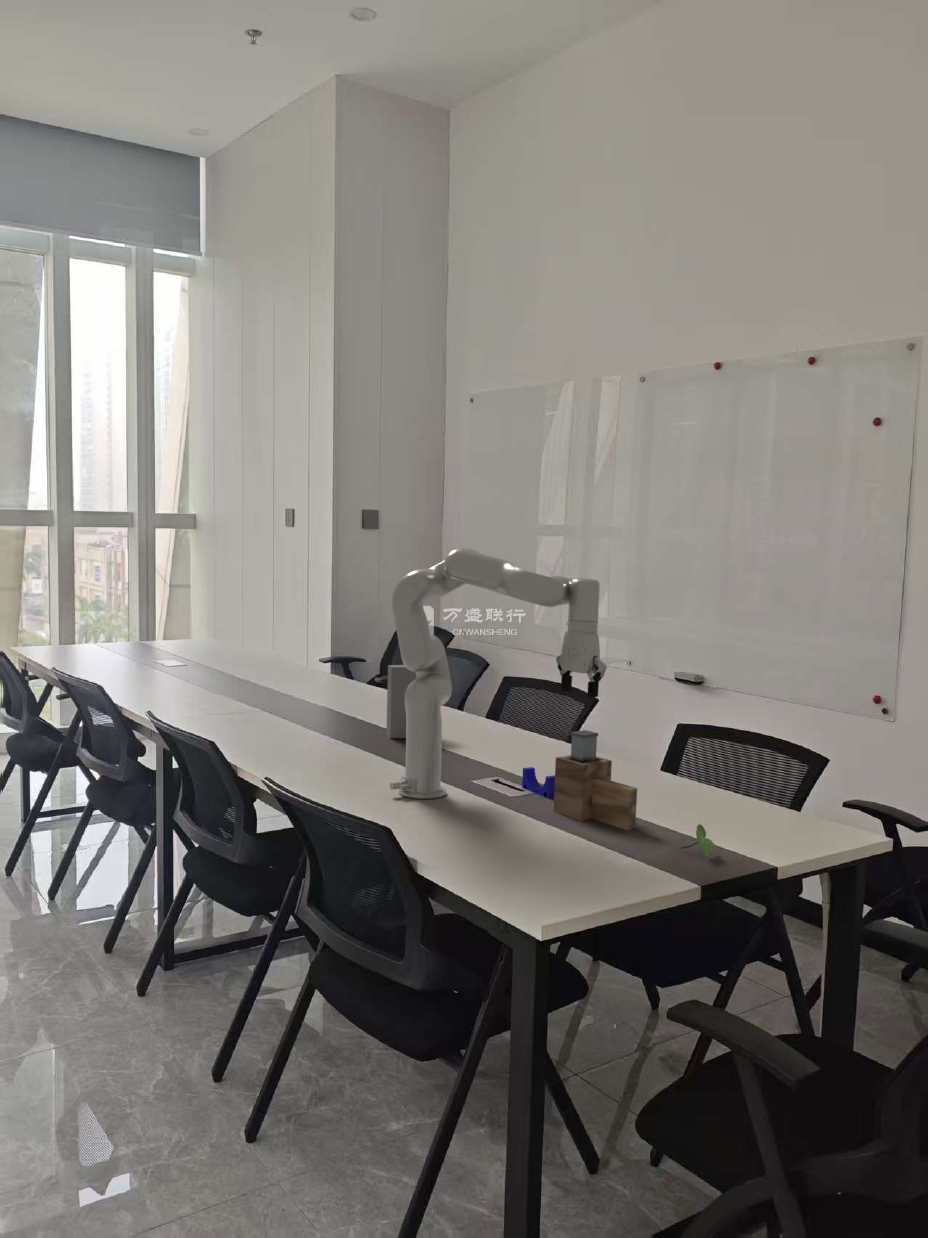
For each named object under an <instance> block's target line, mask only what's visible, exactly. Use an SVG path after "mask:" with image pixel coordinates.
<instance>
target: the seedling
mask: <svg viewBox="0 0 928 1238" xmlns="http://www.w3.org/2000/svg"><path fill="white" fill-rule="evenodd" d="M695 836H696V840H697V842H694V843H693V844H691V845H689V846H681V847H679V849H686V848H691V847H692V846H694V845H697V844H698V845H699V849H700V851H701V852H702V854H703V855H704V856H706V857H708V856H709V852H710V853H711V854H714V852H715V851H716V846H715V844H714V842H713V841H712V840H711V839H710V838H706V837H707V831H706V830H705V828H704V826H703V825H702V824H697V825H696V831H695Z"/></svg>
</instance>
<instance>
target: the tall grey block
mask: <svg viewBox="0 0 928 1238" xmlns="http://www.w3.org/2000/svg"><path fill="white" fill-rule="evenodd" d="M416 678H417V676H416V672H413V671H410V670H408V669H407V668H406V667H405V665H404V664H392V665H391V664H389V665H387V693H386V694H387V696H386V698H387V699H386V731H385V732H386V734H385V736H386V735H387V736H389V738H406V709H405V693H406V689H407V687H408V686H409V684H410V683H411V682H412V681H413V680H415V679H416ZM387 736H386V737H387ZM389 738H388V739H389Z"/></svg>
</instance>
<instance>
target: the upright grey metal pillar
mask: <svg viewBox="0 0 928 1238" xmlns="http://www.w3.org/2000/svg"><path fill="white" fill-rule="evenodd" d="M570 736H571V740H570V741H571V743H570V744H571V745H570V746H571V747H570V751H571V752H570V755H571V760H573V761H577V762H580V763H588V762H594V761H596V757H597V746H598V745H597V743H598V741H597V740H598V737H599V733H598V732H594V731H591V730H587V729H584V730H577V731H572V732H571V731H570Z"/></svg>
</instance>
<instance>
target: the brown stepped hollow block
mask: <svg viewBox="0 0 928 1238" xmlns="http://www.w3.org/2000/svg"><path fill="white" fill-rule="evenodd" d="M612 761H613V760H611V759H606V758H604V757H599V756H596V761H594V762H588V763H580V762H577V761H573V760H571V754H570V755H569V754H568V755H564V756H556V757H555V768H554V769H555V770H554V775H555V790H554V798H553V812H555V813H556V814H557V813H558V814H560V815H564V816H566V817H569V818H572V819H575V820H578V821H581V822H582V821H587V820H595V821H597V822H600V823H603V824H606V825H609V826H611V827H614V828H619V829H621V830H624V831H630V830H635V829H636V824H637V803H638V802H637V799H638V788H637V787H634V786H632V785H631V786H630V785H628V784H623V783H620V782H617V781H613V780H612Z"/></svg>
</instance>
